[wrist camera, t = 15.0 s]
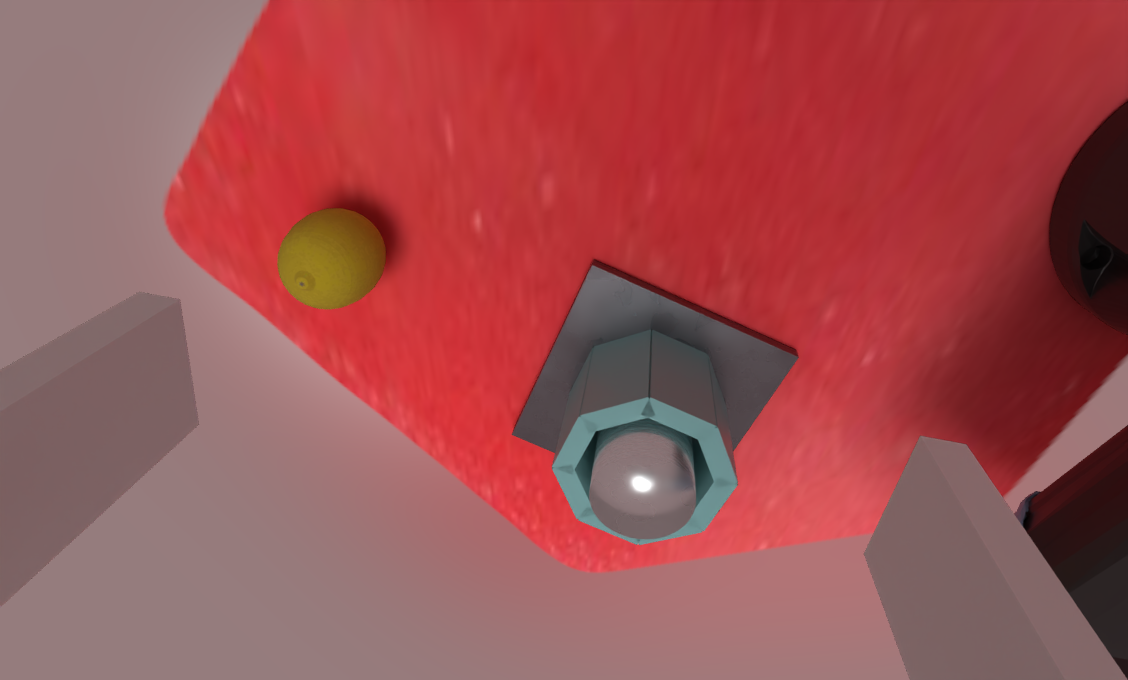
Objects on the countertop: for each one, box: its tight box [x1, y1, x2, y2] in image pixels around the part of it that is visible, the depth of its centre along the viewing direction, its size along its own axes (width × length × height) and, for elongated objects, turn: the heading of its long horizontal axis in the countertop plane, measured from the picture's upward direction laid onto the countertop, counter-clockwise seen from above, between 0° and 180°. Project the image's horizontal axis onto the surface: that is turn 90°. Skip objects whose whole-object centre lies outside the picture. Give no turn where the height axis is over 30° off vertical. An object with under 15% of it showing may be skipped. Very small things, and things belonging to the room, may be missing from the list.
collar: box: [552, 330, 738, 545], centre depth 40 cm, size 10×10×8 cm
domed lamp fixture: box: [512, 260, 799, 539], centre depth 40 cm, size 14×14×11 cm
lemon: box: [278, 208, 386, 309], centre depth 39 cm, size 6×6×8 cm
